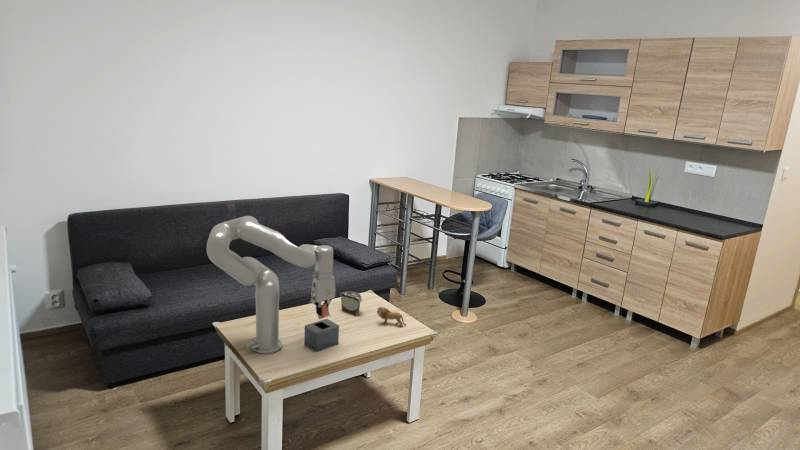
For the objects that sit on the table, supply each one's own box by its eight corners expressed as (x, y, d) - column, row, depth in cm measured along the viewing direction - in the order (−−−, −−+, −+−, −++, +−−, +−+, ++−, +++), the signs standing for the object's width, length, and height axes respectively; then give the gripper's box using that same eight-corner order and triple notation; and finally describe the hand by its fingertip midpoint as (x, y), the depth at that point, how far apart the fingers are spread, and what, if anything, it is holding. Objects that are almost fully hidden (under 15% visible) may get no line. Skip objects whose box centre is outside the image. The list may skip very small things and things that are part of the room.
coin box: (316, 352, 227) (316, 332, 225) (304, 344, 233) (304, 325, 231) (338, 343, 235) (339, 325, 233) (326, 336, 241) (326, 318, 239)
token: (324, 317, 227) (320, 305, 228) (319, 319, 230) (315, 307, 231) (330, 315, 229) (326, 303, 230) (324, 317, 232) (320, 305, 233)
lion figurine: (375, 325, 255) (376, 308, 253) (376, 321, 261) (377, 304, 258) (406, 328, 255) (407, 311, 253) (406, 323, 260) (407, 306, 258)
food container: (366, 313, 269) (366, 295, 266) (358, 317, 263) (359, 298, 261) (346, 307, 275) (347, 289, 272) (339, 310, 270) (340, 292, 267)
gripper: (313, 280, 218) (311, 321, 222) (343, 273, 229) (342, 312, 233) (302, 275, 223) (301, 315, 227) (333, 268, 234) (331, 306, 239)
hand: (322, 313), depth 230 cm, fingers closed on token, 2 cm apart
